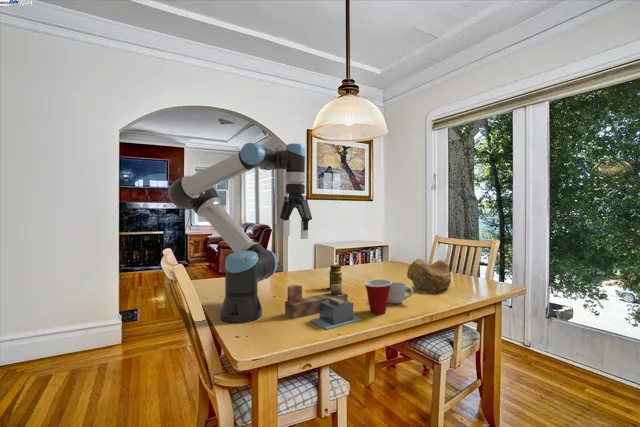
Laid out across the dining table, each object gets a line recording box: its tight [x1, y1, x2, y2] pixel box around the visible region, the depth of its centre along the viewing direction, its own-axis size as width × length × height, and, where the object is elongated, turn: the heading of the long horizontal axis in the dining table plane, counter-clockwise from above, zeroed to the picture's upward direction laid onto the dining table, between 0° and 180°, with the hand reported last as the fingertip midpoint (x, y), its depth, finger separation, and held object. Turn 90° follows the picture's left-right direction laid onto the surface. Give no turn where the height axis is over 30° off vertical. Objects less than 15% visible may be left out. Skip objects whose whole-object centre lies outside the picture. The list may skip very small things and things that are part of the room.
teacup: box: [387, 281, 414, 304], centre depth 133 cm, size 14×11×8 cm
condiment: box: [323, 264, 345, 293], centre depth 154 cm, size 7×8×12 cm
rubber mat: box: [309, 314, 363, 331], centre depth 111 cm, size 16×10×1 cm, turn 126°
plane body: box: [284, 284, 349, 320], centre depth 122 cm, size 26×6×11 cm, turn 126°
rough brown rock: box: [406, 258, 452, 294], centre depth 155 cm, size 23×17×15 cm
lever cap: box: [319, 298, 354, 325], centre depth 111 cm, size 9×8×7 cm
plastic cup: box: [363, 279, 393, 315], centre depth 120 cm, size 11×11×12 cm
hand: (294, 237), depth 122 cm, fingers open, 13 cm apart
